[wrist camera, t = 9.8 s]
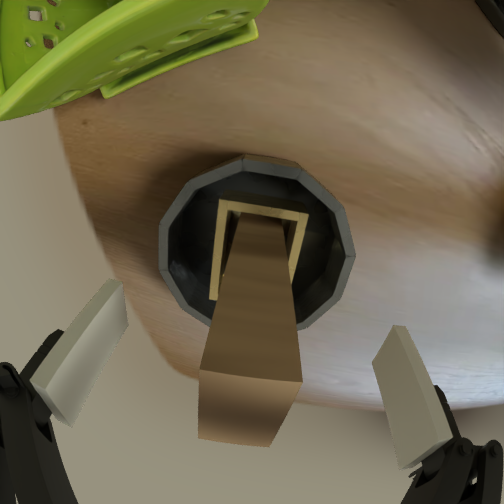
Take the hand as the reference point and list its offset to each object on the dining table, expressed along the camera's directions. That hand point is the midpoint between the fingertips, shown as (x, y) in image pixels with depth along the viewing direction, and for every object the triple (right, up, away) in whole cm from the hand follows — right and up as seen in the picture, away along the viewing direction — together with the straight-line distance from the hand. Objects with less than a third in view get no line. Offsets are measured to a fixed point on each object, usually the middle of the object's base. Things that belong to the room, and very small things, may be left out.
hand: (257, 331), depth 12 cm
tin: (0, +5, +10) cm, 11 cm away
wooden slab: (0, +4, +10) cm, 11 cm away
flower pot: (-7, +22, +2) cm, 23 cm away
